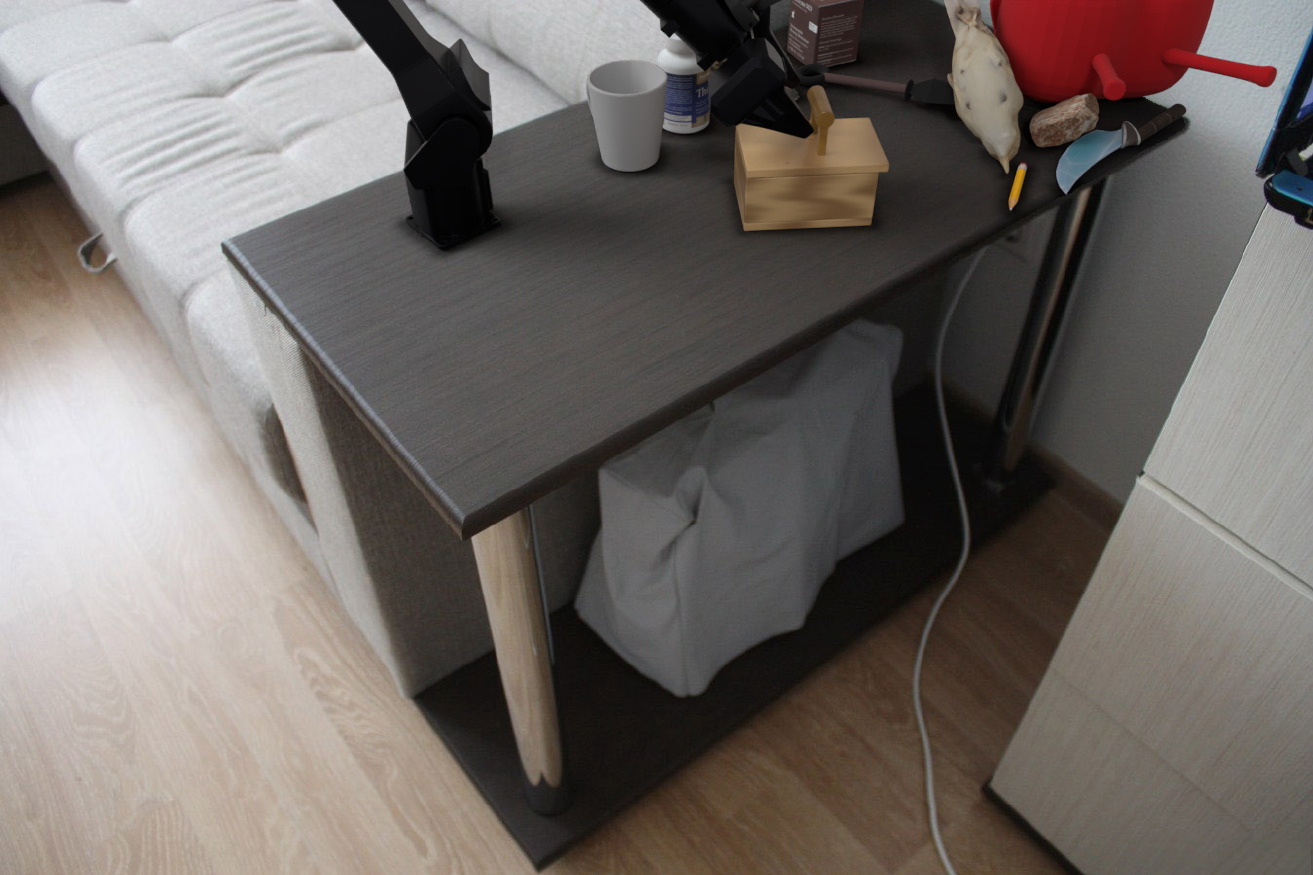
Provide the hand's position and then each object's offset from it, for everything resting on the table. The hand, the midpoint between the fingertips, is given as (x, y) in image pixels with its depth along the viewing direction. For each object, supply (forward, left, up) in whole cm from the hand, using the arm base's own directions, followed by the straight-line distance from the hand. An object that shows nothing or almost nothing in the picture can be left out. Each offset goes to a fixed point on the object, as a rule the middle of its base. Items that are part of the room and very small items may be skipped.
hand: (803, 108), depth 89 cm
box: (+25, +20, -10) cm, 34 cm away
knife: (+30, -11, -9) cm, 33 cm away
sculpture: (+22, -1, -2) cm, 23 cm away
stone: (+29, -12, -9) cm, 33 cm away
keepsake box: (0, 0, -9) cm, 9 cm away
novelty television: (+45, +6, -4) cm, 46 cm away
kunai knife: (+27, -6, -12) cm, 30 cm away
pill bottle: (+3, +19, -10) cm, 21 cm away
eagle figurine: (+13, +18, -10) cm, 24 cm away
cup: (-6, +18, -10) cm, 21 cm away
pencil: (+17, -12, -9) cm, 22 cm away
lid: (+1, -1, -4) cm, 4 cm away
